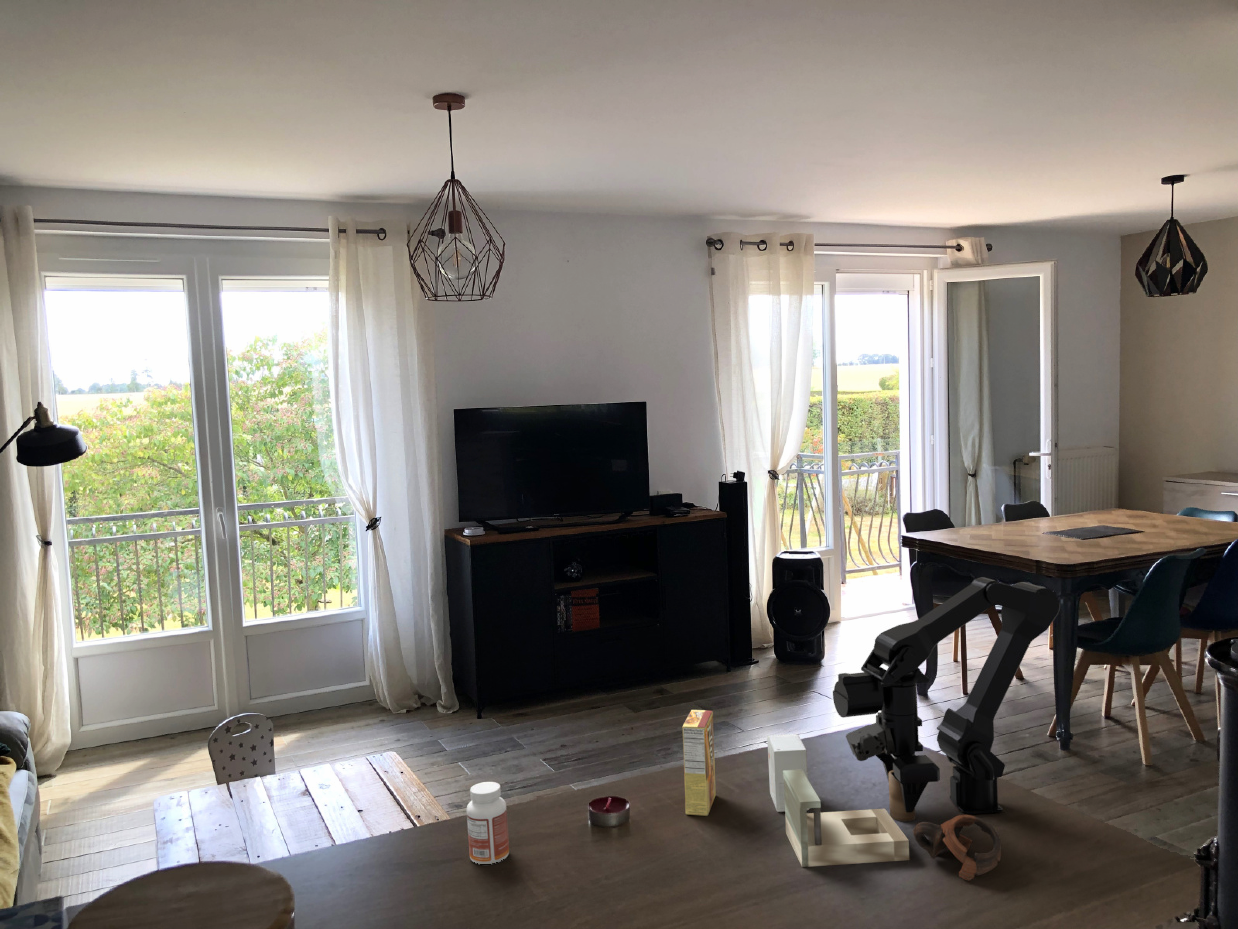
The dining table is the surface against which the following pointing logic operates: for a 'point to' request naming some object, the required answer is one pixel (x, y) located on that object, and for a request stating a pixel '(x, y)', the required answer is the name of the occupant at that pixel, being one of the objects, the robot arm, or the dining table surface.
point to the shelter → (837, 830)
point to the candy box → (699, 762)
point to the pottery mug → (959, 843)
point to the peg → (897, 801)
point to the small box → (784, 763)
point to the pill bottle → (487, 824)
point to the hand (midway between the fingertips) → (902, 803)
